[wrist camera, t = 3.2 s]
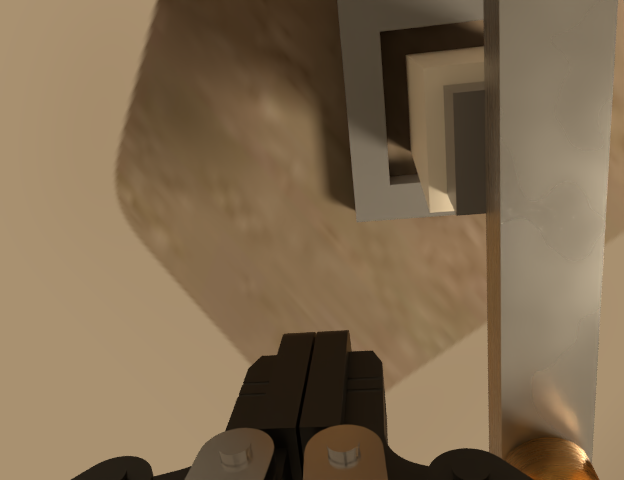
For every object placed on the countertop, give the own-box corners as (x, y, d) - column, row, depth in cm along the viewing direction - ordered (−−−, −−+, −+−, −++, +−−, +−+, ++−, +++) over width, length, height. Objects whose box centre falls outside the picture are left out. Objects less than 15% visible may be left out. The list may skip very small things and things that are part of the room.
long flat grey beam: (450, -537, 9) (502, -920, 6) (637, -581, 9) (827, -1020, 5) (473, 461, 16) (505, 597, 12) (584, 459, 15) (653, 598, 12)
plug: (405, 54, 24) (430, 73, 14) (507, 43, 23) (612, 54, 13) (410, 151, 25) (437, 235, 15) (506, 143, 25) (603, 224, 14)
